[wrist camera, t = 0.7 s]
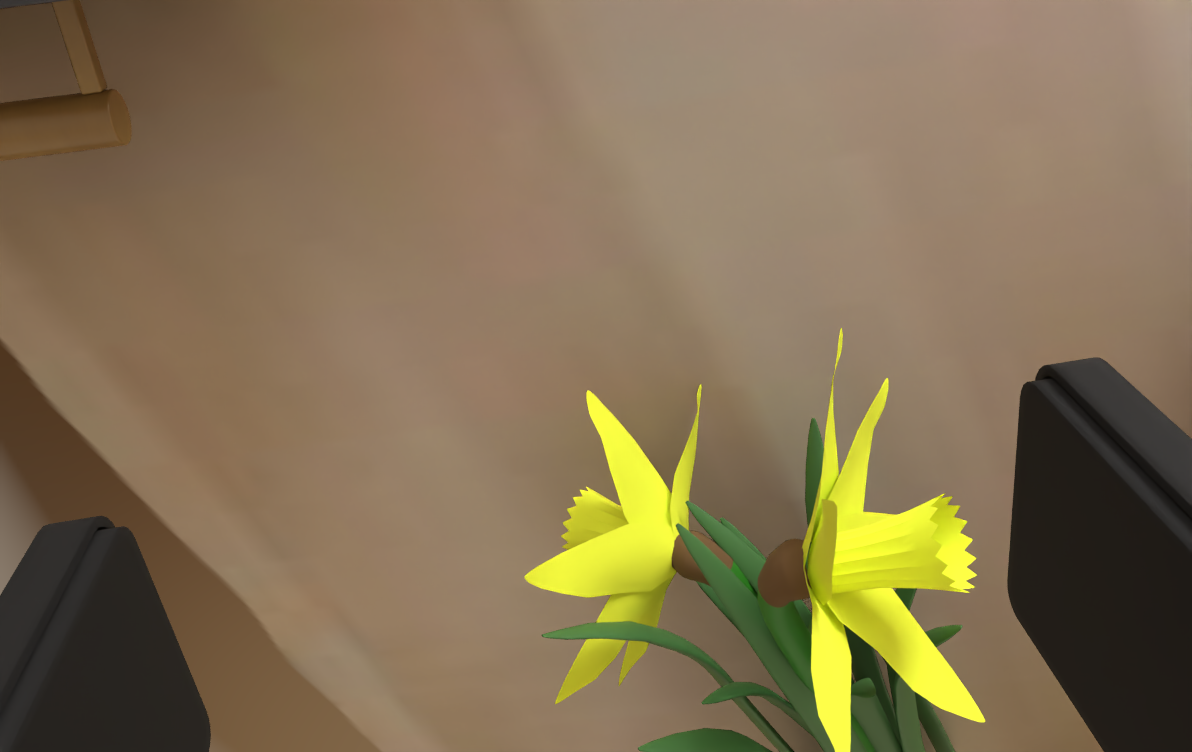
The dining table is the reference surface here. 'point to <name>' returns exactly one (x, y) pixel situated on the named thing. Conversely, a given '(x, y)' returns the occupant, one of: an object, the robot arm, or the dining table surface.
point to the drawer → (66, 101)
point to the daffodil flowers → (775, 595)
